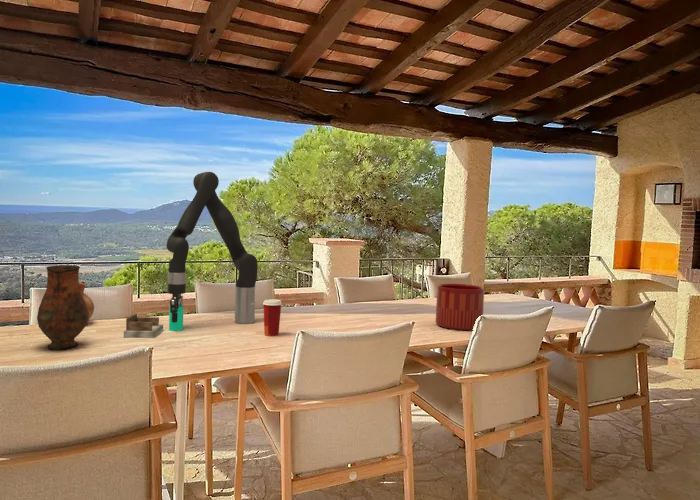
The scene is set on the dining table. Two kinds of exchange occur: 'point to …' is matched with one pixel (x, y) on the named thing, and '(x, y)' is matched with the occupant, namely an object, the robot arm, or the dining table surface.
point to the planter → (459, 305)
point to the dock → (142, 327)
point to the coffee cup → (272, 317)
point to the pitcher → (62, 308)
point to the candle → (179, 324)
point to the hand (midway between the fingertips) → (176, 320)
